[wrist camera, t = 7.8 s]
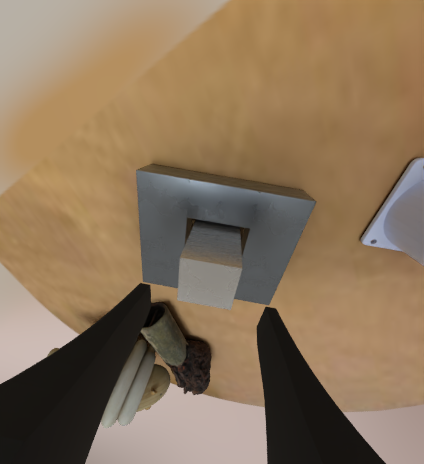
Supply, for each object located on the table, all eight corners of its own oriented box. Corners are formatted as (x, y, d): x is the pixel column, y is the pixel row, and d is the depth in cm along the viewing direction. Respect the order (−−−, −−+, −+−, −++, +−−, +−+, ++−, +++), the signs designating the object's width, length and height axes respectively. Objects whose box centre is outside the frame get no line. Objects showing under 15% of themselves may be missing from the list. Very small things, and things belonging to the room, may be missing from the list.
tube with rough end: (142, 302, 27) (122, 340, 22) (183, 295, 25) (171, 334, 21) (188, 366, 35) (181, 405, 30) (222, 363, 33) (220, 404, 28)
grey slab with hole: (303, 190, 16) (316, 201, 14) (264, 284, 22) (268, 305, 20) (151, 163, 17) (136, 170, 14) (153, 264, 23) (143, 281, 20)
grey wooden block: (239, 216, 18) (242, 268, 11) (231, 248, 20) (230, 309, 13) (200, 209, 18) (179, 257, 12) (196, 242, 20) (177, 300, 14)
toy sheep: (172, 360, 34) (148, 452, 24) (83, 334, 33) (20, 419, 23) (186, 329, 29) (163, 430, 19) (80, 297, 28) (-3, 387, 18)
